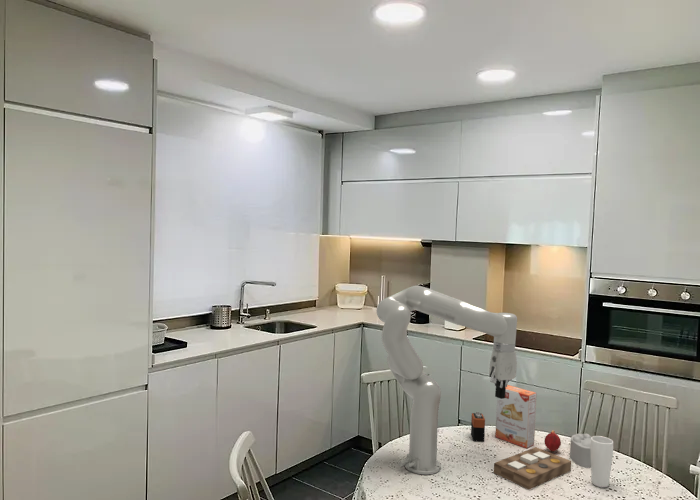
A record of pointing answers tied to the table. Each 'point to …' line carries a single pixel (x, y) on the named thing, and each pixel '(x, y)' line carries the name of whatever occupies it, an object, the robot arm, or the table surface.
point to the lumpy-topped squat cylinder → (581, 450)
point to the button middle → (529, 459)
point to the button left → (516, 465)
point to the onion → (552, 441)
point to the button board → (533, 469)
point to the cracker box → (516, 416)
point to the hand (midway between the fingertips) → (499, 397)
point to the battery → (478, 427)
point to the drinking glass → (601, 460)
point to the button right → (541, 455)
